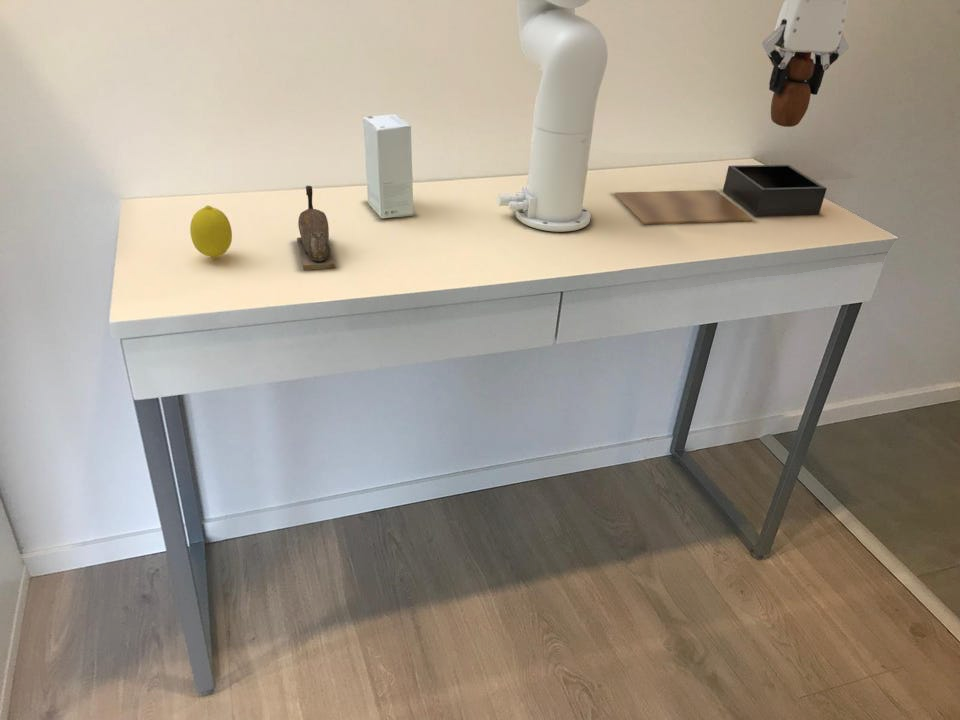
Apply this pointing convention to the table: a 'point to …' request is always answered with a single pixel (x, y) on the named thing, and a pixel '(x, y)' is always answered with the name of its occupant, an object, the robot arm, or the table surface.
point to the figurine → (314, 238)
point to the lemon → (211, 232)
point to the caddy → (774, 190)
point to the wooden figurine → (793, 91)
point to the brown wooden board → (681, 207)
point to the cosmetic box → (389, 165)
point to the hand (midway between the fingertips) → (792, 91)
